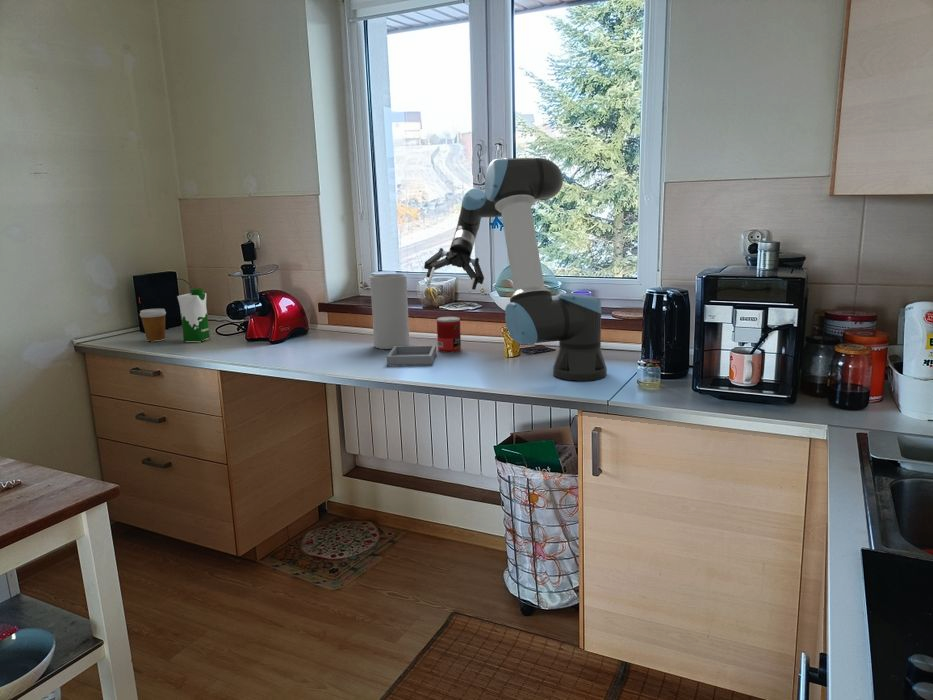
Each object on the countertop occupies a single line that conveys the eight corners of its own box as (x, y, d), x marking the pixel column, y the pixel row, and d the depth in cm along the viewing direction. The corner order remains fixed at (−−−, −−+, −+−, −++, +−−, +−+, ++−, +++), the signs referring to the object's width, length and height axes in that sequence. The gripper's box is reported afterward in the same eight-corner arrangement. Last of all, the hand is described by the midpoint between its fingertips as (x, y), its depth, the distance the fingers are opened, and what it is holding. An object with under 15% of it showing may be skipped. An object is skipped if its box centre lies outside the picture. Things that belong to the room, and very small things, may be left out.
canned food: (458, 352, 232) (457, 320, 229) (435, 352, 233) (434, 320, 231) (463, 348, 239) (462, 316, 237) (440, 347, 241) (439, 316, 238)
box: (431, 365, 215) (431, 355, 214) (387, 366, 216) (386, 356, 215) (436, 354, 231) (435, 345, 230) (394, 354, 231) (394, 346, 231)
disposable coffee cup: (163, 342, 264) (159, 311, 261) (138, 343, 264) (134, 312, 261) (173, 338, 273) (170, 307, 270) (149, 338, 273) (146, 308, 271)
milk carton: (202, 343, 261) (196, 290, 256) (179, 343, 262) (173, 290, 258) (213, 338, 269) (208, 287, 265) (191, 338, 270) (186, 287, 266)
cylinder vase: (404, 350, 238) (401, 277, 233) (369, 350, 240) (365, 278, 235) (413, 342, 250) (410, 273, 245) (380, 342, 252) (376, 274, 247)
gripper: (494, 263, 241) (483, 306, 227) (425, 244, 241) (410, 286, 227) (499, 247, 235) (488, 291, 221) (428, 228, 235) (413, 270, 221)
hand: (448, 289), depth 224 cm, fingers open, 13 cm apart
